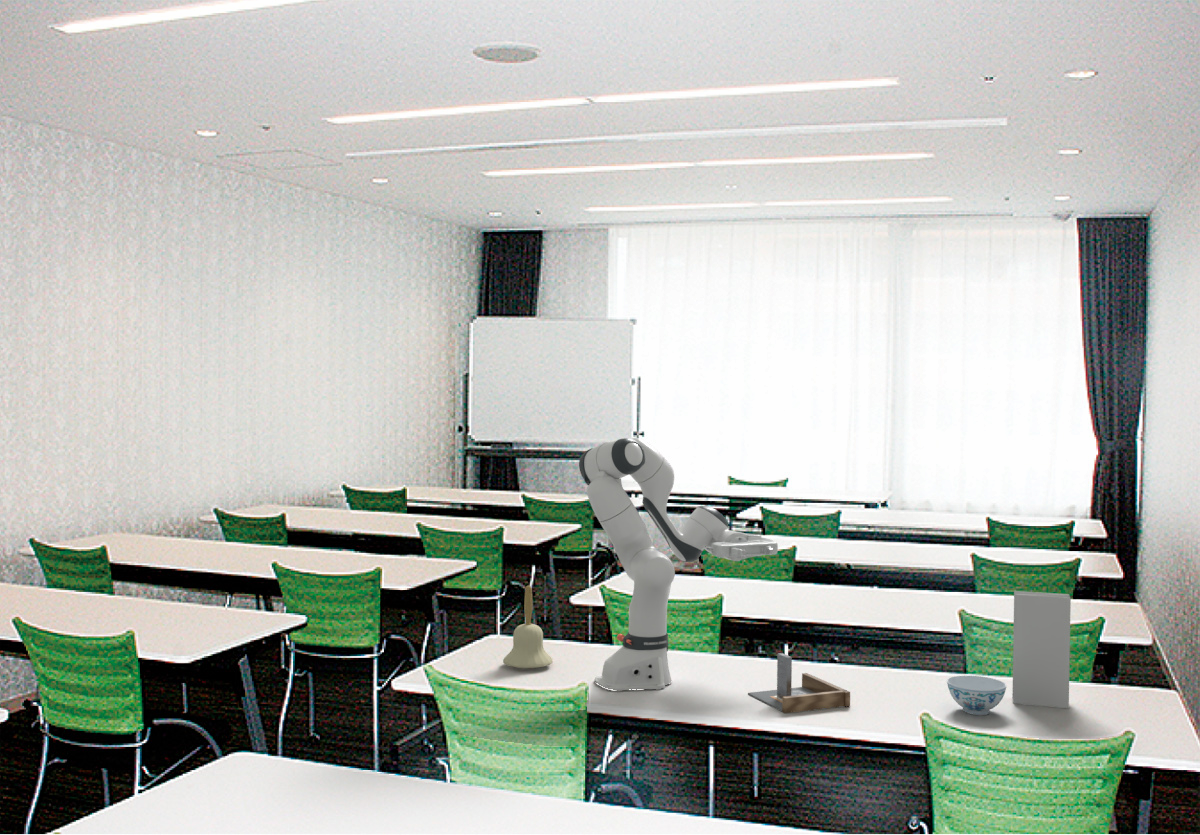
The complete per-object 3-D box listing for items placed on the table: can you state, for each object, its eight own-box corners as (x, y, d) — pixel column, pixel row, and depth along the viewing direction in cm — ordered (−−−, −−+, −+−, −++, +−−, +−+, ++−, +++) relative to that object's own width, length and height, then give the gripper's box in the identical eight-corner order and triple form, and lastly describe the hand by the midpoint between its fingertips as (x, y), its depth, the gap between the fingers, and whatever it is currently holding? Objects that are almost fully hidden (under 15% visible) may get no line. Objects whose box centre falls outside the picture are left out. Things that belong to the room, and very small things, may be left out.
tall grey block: (1067, 703, 306) (1069, 594, 305) (1069, 708, 301) (1070, 597, 300) (1012, 698, 310) (1014, 590, 310) (1012, 703, 305) (1014, 594, 305)
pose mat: (781, 711, 296) (781, 709, 296) (747, 694, 312) (747, 692, 312) (839, 704, 302) (839, 703, 302) (803, 688, 319) (803, 686, 319)
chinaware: (963, 700, 308) (963, 672, 308) (1015, 711, 297) (1016, 683, 297) (936, 710, 297) (936, 682, 297) (989, 723, 287) (989, 693, 287)
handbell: (492, 665, 342) (493, 584, 342) (531, 658, 352) (531, 579, 352) (524, 675, 331) (525, 591, 330) (563, 667, 341) (563, 586, 341)
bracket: (786, 701, 304) (787, 657, 303) (776, 696, 308) (777, 653, 308) (808, 698, 306) (809, 655, 306) (798, 694, 311) (799, 651, 311)
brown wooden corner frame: (786, 714, 293) (786, 699, 293) (746, 693, 313) (746, 679, 313) (850, 706, 301) (850, 691, 301) (806, 686, 321) (806, 673, 321)
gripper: (704, 537, 334) (726, 543, 321) (763, 534, 342) (787, 540, 329) (703, 558, 334) (725, 564, 321) (763, 554, 342) (787, 561, 329)
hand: (757, 552), depth 325 cm, fingers open, 8 cm apart
